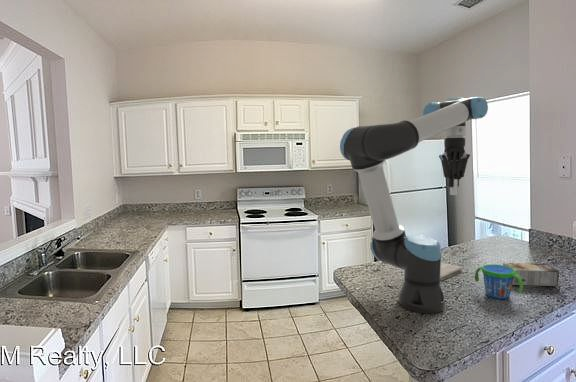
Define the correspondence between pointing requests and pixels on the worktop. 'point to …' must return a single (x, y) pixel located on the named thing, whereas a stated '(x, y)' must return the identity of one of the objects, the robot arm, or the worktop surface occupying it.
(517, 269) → the coffee box
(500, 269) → the snack cup
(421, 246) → the robot arm
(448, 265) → the washcloth
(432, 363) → the worktop surface
